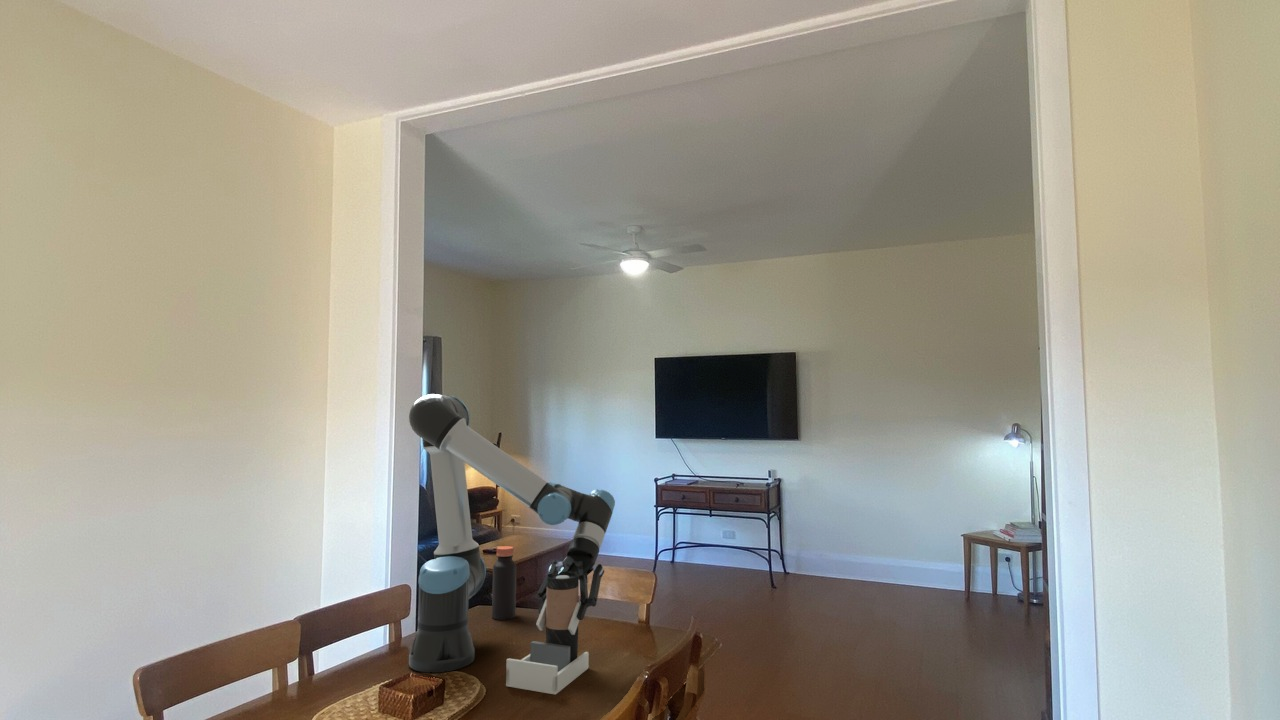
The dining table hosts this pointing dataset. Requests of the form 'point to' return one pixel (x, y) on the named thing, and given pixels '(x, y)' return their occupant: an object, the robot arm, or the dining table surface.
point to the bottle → (504, 585)
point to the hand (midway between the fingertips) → (555, 629)
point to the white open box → (543, 674)
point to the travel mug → (562, 610)
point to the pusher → (550, 654)
